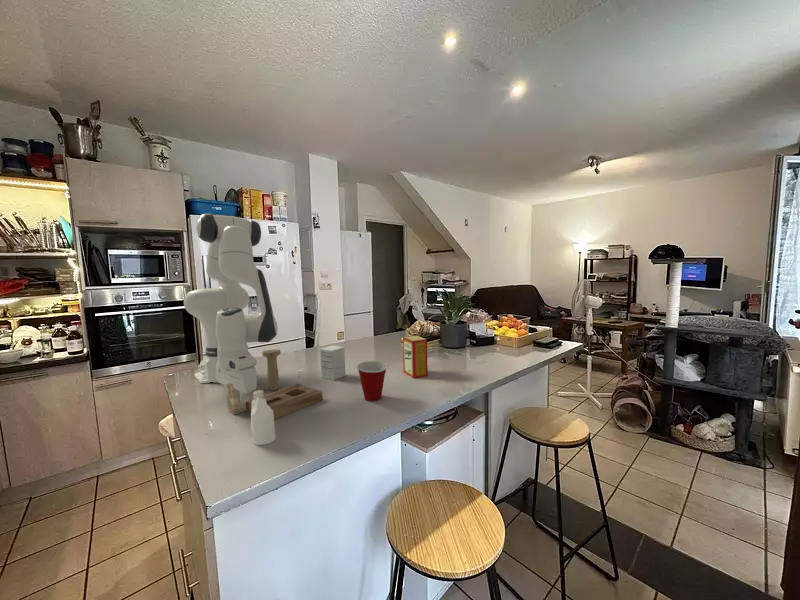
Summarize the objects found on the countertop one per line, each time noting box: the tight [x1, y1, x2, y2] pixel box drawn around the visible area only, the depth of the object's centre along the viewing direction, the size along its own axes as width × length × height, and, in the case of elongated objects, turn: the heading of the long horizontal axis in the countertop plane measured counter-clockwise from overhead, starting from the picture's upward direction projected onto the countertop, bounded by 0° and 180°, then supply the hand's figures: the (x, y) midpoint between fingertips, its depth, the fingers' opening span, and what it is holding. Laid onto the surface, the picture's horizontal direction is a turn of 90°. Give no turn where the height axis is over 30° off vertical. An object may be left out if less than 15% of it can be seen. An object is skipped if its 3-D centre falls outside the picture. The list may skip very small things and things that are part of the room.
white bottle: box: [250, 389, 267, 432], centre depth 94 cm, size 5×5×11 cm
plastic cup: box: [356, 360, 389, 402], centre depth 114 cm, size 11×11×12 cm
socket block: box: [246, 383, 323, 420], centre depth 111 cm, size 14×20×3 cm
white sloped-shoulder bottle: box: [250, 398, 276, 446], centre depth 87 cm, size 6×12×6 cm
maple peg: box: [225, 382, 247, 416], centre depth 107 cm, size 4×4×10 cm
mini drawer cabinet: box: [319, 345, 347, 381], centre depth 139 cm, size 7×7×13 cm
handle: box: [262, 349, 281, 391], centre depth 125 cm, size 5×6×15 cm
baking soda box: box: [402, 335, 429, 379], centre depth 139 cm, size 10×6×16 cm
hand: (236, 400), depth 107 cm, fingers open, 7 cm apart
